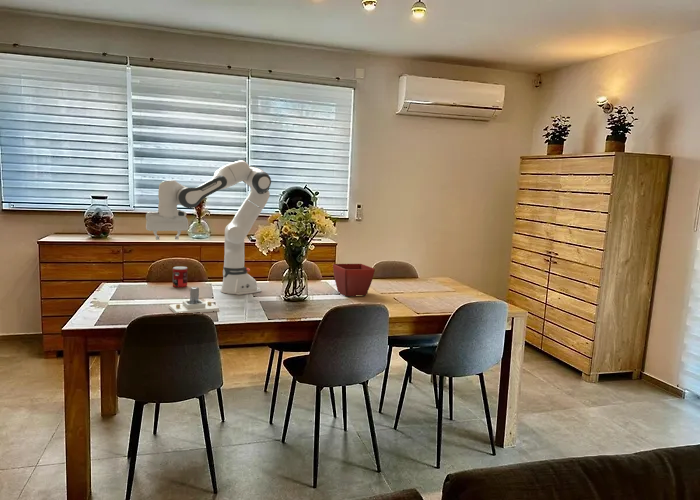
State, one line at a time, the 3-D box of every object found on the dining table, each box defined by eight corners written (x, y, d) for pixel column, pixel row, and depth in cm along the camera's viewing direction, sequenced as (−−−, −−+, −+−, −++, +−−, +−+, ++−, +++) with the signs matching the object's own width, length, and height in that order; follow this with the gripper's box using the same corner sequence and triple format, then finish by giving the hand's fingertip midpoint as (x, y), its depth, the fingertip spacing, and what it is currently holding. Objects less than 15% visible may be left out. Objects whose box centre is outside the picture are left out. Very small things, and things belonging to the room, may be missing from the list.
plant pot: (359, 290, 303) (361, 263, 300) (373, 297, 286) (375, 268, 283) (330, 291, 294) (332, 263, 292) (344, 298, 277) (345, 269, 275)
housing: (209, 304, 249) (210, 297, 248) (219, 310, 237) (219, 303, 237) (169, 307, 238) (169, 300, 237) (176, 315, 226) (176, 307, 226)
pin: (197, 304, 240) (197, 286, 239) (199, 306, 237) (200, 288, 235) (188, 305, 238) (189, 287, 237) (191, 307, 235) (191, 289, 233)
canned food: (171, 285, 285) (171, 266, 284) (185, 284, 289) (185, 266, 288) (174, 288, 279) (174, 268, 277) (188, 287, 283) (188, 268, 281)
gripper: (147, 212, 239) (146, 240, 241) (189, 213, 250) (189, 239, 252) (144, 211, 244) (144, 238, 246) (186, 212, 255) (185, 238, 257)
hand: (167, 239), depth 249 cm, fingers open, 8 cm apart
